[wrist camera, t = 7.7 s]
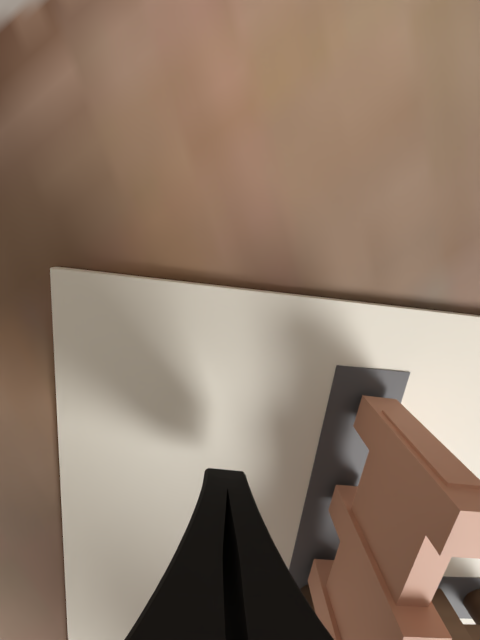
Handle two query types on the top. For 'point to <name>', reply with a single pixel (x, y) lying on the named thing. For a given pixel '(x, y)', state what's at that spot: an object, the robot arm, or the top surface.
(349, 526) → the folding fence panel
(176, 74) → the top surface
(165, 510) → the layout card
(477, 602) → the fixed fence section
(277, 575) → the robot arm
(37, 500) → the top surface
